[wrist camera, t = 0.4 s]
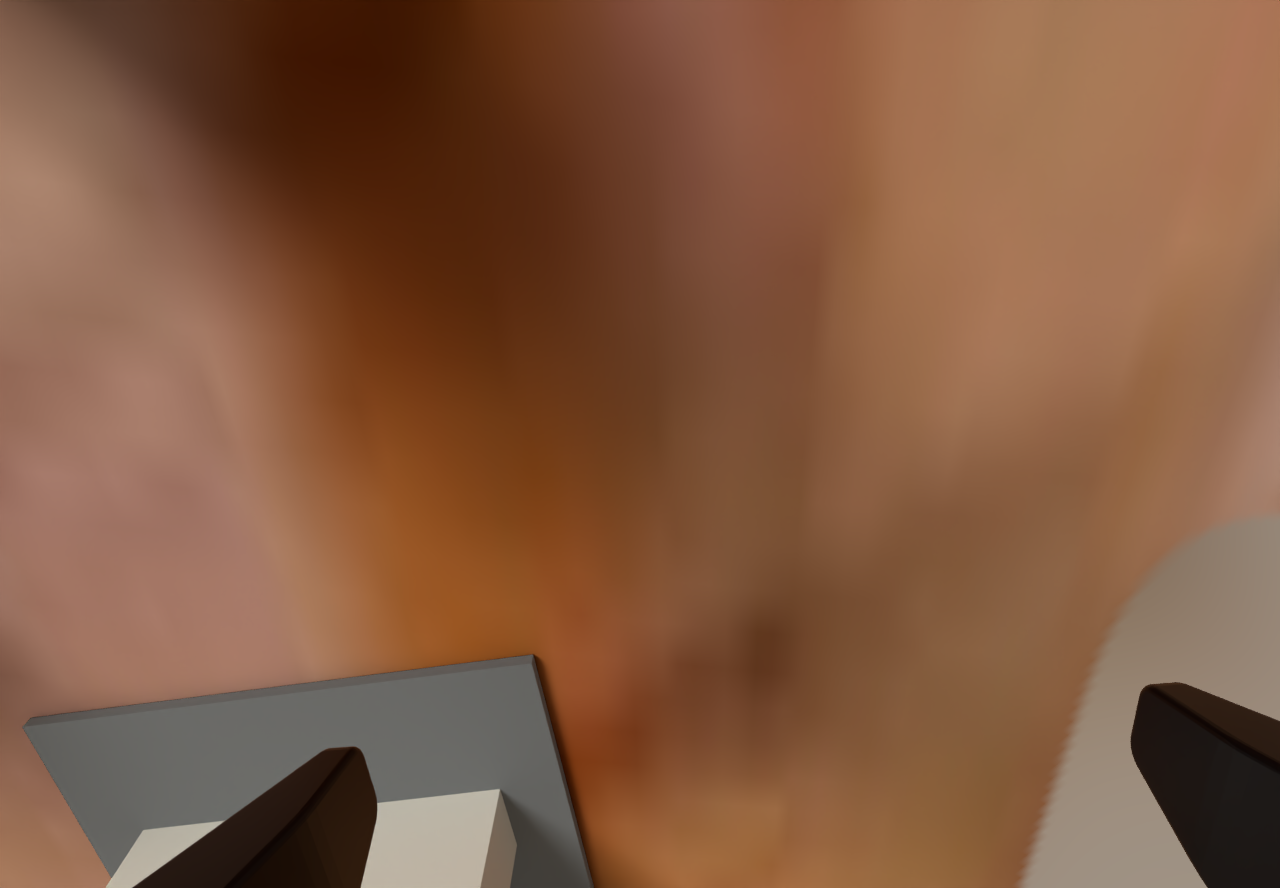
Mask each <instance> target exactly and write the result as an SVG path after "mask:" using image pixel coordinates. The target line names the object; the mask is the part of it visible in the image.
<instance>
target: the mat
mask: <svg viewBox="0 0 1280 888" xmlns="http://www.w3.org/2000/svg"><path fill="white" fill-rule="evenodd" d="M23 729H24V731H25V733H26V734H27V736H28V738H29V739H30V741H31V743H32V744H33V746H34V748H35V749H36V751H37V753H38V755H39V756H40V758H41V760H42V761H43V763H44V765H45V766H46V768H47V770H48V771H49V773H50V775H51V777H52V778H53V780H54V782H55V783H56V785H57V787H58V788H59V790H60V792H61V793H62V795H63V797H64V799H65V800H66V802H67V804H68V805H69V807H70V809H71V810H72V812H73V814H74V815H75V817H76V819H77V821H78V822H79V824H80V826H81V827H82V829H83V831H84V832H85V834H86V836H87V837H88V839H89V841H90V842H91V844H92V846H93V848H94V849H95V851H96V853H97V854H98V856H99V858H100V859H101V861H102V863H103V864H104V866H105V868H106V870H107V871H108V873H109V875H110V876H111V878H112V877H113V876H114V874H115V873H116V871H117V870H118V868H119V866H120V865H121V863H122V862H123V860H124V859H125V857H126V856H127V854H128V853H129V851H130V850H131V848H132V847H133V845H134V843H135V842H136V840H137V839H138V837H139V836H140V834H141V833H142V831H143V830H148V829H156V828H165V827H174V826H182V825H191V824H200V823H208V822H217V821H225V820H227V819H228V818H230V817H231V816H232V815H234V814H235V813H237V812H238V811H239V810H241V809H242V808H243V807H245V806H246V805H248V804H249V803H250V802H252V801H253V800H255V799H256V798H257V797H259V796H260V795H262V794H263V793H264V792H266V791H267V790H268V789H270V788H271V787H273V786H274V785H275V784H277V783H278V782H280V781H281V780H282V779H284V778H285V777H287V776H288V775H289V774H291V773H292V772H293V771H295V770H296V769H298V768H299V767H300V766H302V765H303V764H305V763H306V762H307V761H309V760H310V759H311V758H313V757H314V756H316V755H317V754H318V753H320V752H321V751H323V750H325V749H328V748H338V747H350V746H355V747H358V748H359V749H361V751H362V752H363V754H364V757H365V760H366V764H367V767H368V770H369V773H370V777H371V780H372V783H373V786H374V790H375V793H376V797H377V803H382V802H391V801H400V800H408V799H417V798H426V797H435V796H443V795H452V794H461V793H469V792H478V791H487V790H495V789H500V791H501V794H502V797H503V800H504V804H505V807H506V810H507V813H508V817H509V820H510V823H511V827H512V830H513V833H514V836H515V840H516V843H517V848H516V854H515V860H514V866H513V872H512V878H511V884H510V888H594V885H593V882H592V878H591V874H590V870H589V866H588V863H587V859H586V855H585V851H584V847H583V843H582V840H581V836H580V832H579V828H578V824H577V820H576V817H575V813H574V809H573V805H572V801H571V797H570V794H569V790H568V786H567V782H566V778H565V774H564V771H563V767H562V763H561V759H560V755H559V751H558V748H557V744H556V740H555V736H554V732H553V728H552V725H551V721H550V717H549V713H548V709H547V705H546V702H545V698H544V694H543V690H542V686H541V682H540V679H539V675H538V671H537V667H536V663H535V659H534V656H533V655H526V656H518V657H510V658H502V659H494V660H486V661H479V662H471V663H463V664H455V665H447V666H439V667H431V668H423V669H415V670H407V671H399V672H391V673H383V674H375V675H368V676H360V677H352V678H344V679H336V680H328V681H320V682H312V683H304V684H296V685H288V686H280V687H272V688H264V689H256V690H249V691H241V692H233V693H225V694H217V695H209V696H201V697H193V698H185V699H177V700H169V701H161V702H153V703H145V704H138V705H130V706H122V707H114V708H106V709H98V710H90V711H82V712H74V713H66V714H58V715H50V716H42V717H34V718H30V719H29V720H28V722H27V723H26V724H25V725H24V726H23Z"/></svg>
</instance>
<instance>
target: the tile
mask: <svg viewBox="0 0 1280 888" xmlns="http://www.w3.org/2000/svg"><path fill="white" fill-rule="evenodd" d="M223 822H224V821H217V822H208V823H200V824H191V825H182V826H174V827H165V828H156V829H148V830H143V831H142V833H141V834H140V836H139V837H138V839H137V840H136V842H135V843H134V845H133V847H132V848H131V850H130V851H129V853H128V854H127V856H126V857H125V859H124V860H123V862H122V863H121V865H120V866H119V868H118V870H117V871H116V873H115V874H114V876H113V877H112V879H111V880H110V882H109V883H108V885H107V886H106V888H132V887H134V886H135V885H136V884H138V883H139V882H141V881H142V880H143V879H145V878H146V877H148V876H149V875H150V874H152V873H153V872H155V871H156V870H157V869H159V868H160V867H161V866H163V865H164V864H166V863H167V862H168V861H170V860H171V859H173V858H174V857H175V856H177V855H178V854H180V853H181V852H182V851H184V850H185V849H186V848H188V847H189V846H191V845H192V844H193V843H195V842H196V841H198V840H199V839H200V838H202V837H203V836H205V835H206V834H207V833H209V832H210V831H212V830H213V829H214V828H216V827H217V826H218V825H220V824H221V823H223ZM516 848H517V843H516V840H515V836H514V833H513V830H512V827H511V823H510V820H509V817H508V813H507V810H506V807H505V804H504V800H503V797H502V794H501V791H500V789H495V790H487V791H478V792H469V793H461V794H452V795H443V796H435V797H426V798H417V799H408V800H400V801H391V802H382V803H377V820H376V825H375V829H374V833H373V838H372V842H371V846H370V850H369V855H368V859H367V863H366V867H365V872H364V876H363V880H362V885H361V888H510V884H511V878H512V872H513V866H514V860H515V854H516Z"/></svg>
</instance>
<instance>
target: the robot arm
mask: <svg viewBox="0 0 1280 888" xmlns="http://www.w3.org/2000/svg"><path fill="white" fill-rule="evenodd" d="M1131 750H1132V754H1133V757H1134V760H1135V762H1136V765H1137V767H1138V768H1139V770H1140V772H1141V774H1142V775H1143V777H1144V779H1145V781H1146V783H1147V784H1148V786H1149V788H1150V790H1151V792H1152V793H1153V795H1154V797H1155V799H1156V800H1157V802H1158V804H1159V806H1160V807H1161V809H1162V811H1163V813H1164V814H1165V816H1166V818H1167V820H1168V822H1169V824H1170V825H1171V827H1172V829H1173V830H1174V832H1175V834H1176V836H1177V838H1178V840H1179V841H1180V843H1181V845H1182V847H1183V848H1184V850H1185V852H1186V854H1187V856H1188V857H1189V859H1190V861H1191V862H1192V864H1193V866H1194V867H1195V869H1196V870H1197V872H1198V874H1199V875H1200V877H1201V878H1202V880H1203V881H1204V883H1205V885H1206V886H1207V887H1208V888H1280V721H1278V720H1275V719H1273V718H1270V717H1268V716H1265V715H1263V714H1260V713H1258V712H1255V711H1252V710H1250V709H1247V708H1245V707H1242V706H1240V705H1237V704H1235V703H1232V702H1230V701H1227V700H1225V699H1222V698H1220V697H1217V696H1215V695H1212V694H1210V693H1207V692H1205V691H1202V690H1200V689H1197V688H1194V687H1192V686H1189V685H1187V684H1183V683H1177V682H1174V683H1163V684H1150V685H1147V686H1145V687H1144V688H1143V689H1142V691H1141V693H1140V696H1139V701H1138V705H1137V710H1136V715H1135V720H1134V725H1133V729H1132V734H1131ZM376 820H377V797H376V793H375V790H374V786H373V783H372V780H371V777H370V773H369V770H368V767H367V764H366V760H365V757H364V754H363V752H362V751H361V749H359V748H358V747H355V746H350V747H338V748H328V749H325V750H323V751H321V752H320V753H318V754H317V755H316V756H314V757H313V758H311V759H310V760H309V761H307V762H306V763H305V764H303V765H302V766H300V767H299V768H298V769H296V770H295V771H293V772H292V773H291V774H289V775H288V776H287V777H285V778H284V779H282V780H281V781H280V782H278V783H277V784H275V785H274V786H273V787H271V788H270V789H268V790H267V791H266V792H264V793H263V794H262V795H260V796H259V797H257V798H256V799H255V800H253V801H252V802H250V803H249V804H248V805H246V806H245V807H243V808H242V809H241V810H239V811H238V812H237V813H235V814H234V815H232V816H231V817H230V818H228V819H227V820H225V821H224V822H223V823H221V824H220V825H218V826H217V827H216V828H214V829H213V830H212V831H210V832H209V833H207V834H206V835H205V836H203V837H202V838H200V839H199V840H198V841H196V842H195V843H193V844H192V845H191V846H189V847H188V848H186V849H185V850H184V851H182V852H181V853H180V854H178V855H177V856H175V857H174V858H173V859H171V860H170V861H168V862H167V863H166V864H164V865H163V866H161V867H160V868H159V869H157V870H156V871H155V872H153V873H152V874H150V875H149V876H148V877H146V878H145V879H143V880H142V881H141V882H139V883H138V884H136V885H135V886H134V887H132V888H361V885H362V880H363V876H364V872H365V867H366V863H367V859H368V855H369V850H370V846H371V842H372V838H373V833H374V829H375V825H376Z"/></svg>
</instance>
